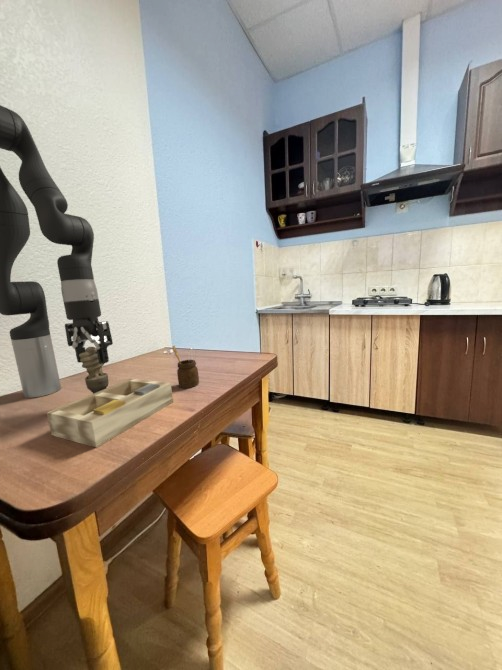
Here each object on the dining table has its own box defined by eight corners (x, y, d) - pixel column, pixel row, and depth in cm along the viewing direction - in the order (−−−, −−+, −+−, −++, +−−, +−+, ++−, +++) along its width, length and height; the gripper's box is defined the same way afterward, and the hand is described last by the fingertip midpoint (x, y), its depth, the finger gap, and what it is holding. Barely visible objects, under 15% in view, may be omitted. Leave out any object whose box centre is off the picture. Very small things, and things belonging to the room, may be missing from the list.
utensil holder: (197, 387, 79) (192, 346, 77) (175, 389, 79) (170, 348, 77) (201, 380, 85) (197, 342, 82) (180, 382, 85) (176, 343, 83)
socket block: (51, 435, 57) (46, 409, 56) (133, 396, 76) (130, 376, 75) (96, 447, 51) (91, 419, 50) (173, 401, 70) (170, 380, 69)
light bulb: (101, 406, 70) (91, 348, 68) (83, 406, 71) (72, 349, 69) (116, 397, 76) (107, 343, 73) (99, 397, 77) (89, 344, 74)
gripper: (48, 302, 69) (61, 365, 71) (85, 298, 62) (97, 367, 65) (78, 299, 75) (89, 357, 78) (114, 296, 69) (124, 359, 72)
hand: (93, 362), depth 71 cm, fingers open, 8 cm apart
